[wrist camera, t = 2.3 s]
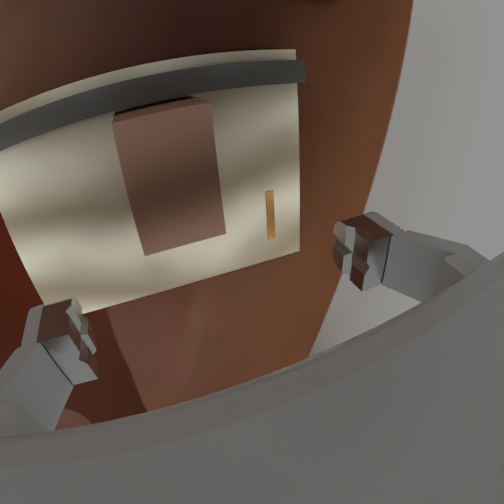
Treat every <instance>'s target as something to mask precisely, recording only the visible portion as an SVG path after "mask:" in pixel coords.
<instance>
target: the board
mask: <svg viewBox="0 0 504 504" xmlns="http://www.w3.org/2000/svg"><path fill="white" fill-rule="evenodd" d="M297 83H306V70H305V60H296V51H295V49H279V50H250V51H235V52H223V53H213V54H204V55H196V56H188V57H181V58H175V59H169V60H163V61H158V62H152V63H147V64H142V65H138V66H133V67H129V68H124V69H120V70H116V71H112V72H108V73H104V74H101V75H97V76H94V77H90V78H87V79H83V80H80V81H77V82H74V83H71V84H67V85H64V86H62V87H59V88H56V89H53V90H50V91H47V92H45V93H42V94H39V95H37V96H34V97H32V98H29V99H27V100H24V101H22V102H19V103H17V104H15V105H13V106H10V107H8V108H6V109H4V110H1V111H0V212H1V214H2V217H3V219H4V222H5V224H6V227H7V229H8V232H9V234H10V236H11V238H12V241H13V243H14V245H15V248H16V250H17V252H18V254H19V256H20V258H21V260H22V262H23V264H24V266H25V269H26V270H27V272H28V275H29V276H30V278H31V280H32V282H33V284H34V286H35V288H36V290H37V292H38V293H39V295H40V297H41V299H42V301H43V302H44V304H47V303H51V302H55V301H59V300H63V299H66V298H70V297H76V298H77V299H78V301H79V303H80V305H81V307H82V314H84V313H87V312H90V311H94V310H98V309H102V308H105V307H109V306H112V305H116V304H119V303H123V302H126V301H130V300H133V299H137V298H140V297H144V296H147V295H151V294H154V293H158V292H161V291H165V290H168V289H172V288H175V287H179V286H182V285H186V284H189V283H192V282H196V281H199V280H203V279H206V278H210V277H213V276H216V275H220V274H223V273H227V272H230V271H233V270H237V269H240V268H244V267H247V266H250V265H254V264H257V263H260V262H264V261H267V260H270V259H274V258H277V257H280V256H284V255H287V254H290V253H294V252H297V251H299V242H300V164H299V119H298V91H297ZM186 96H191V97H195V98H198V99H201V100H204V101H207V102H211V112H212V121H213V129H214V138H215V147H216V155H217V164H218V172H219V180H220V188H221V196H222V204H223V212H224V219H225V227H226V234H224V235H220V236H217V237H213V238H209V239H205V240H202V241H198V242H194V243H191V244H187V245H184V246H180V247H176V248H173V249H169V250H165V251H162V252H158V253H155V254H151V255H148V256H145V255H144V252H143V249H142V245H141V242H140V238H139V235H138V232H137V228H136V224H135V221H134V217H133V214H132V210H131V206H130V202H129V198H128V195H127V191H126V187H125V183H124V178H123V174H122V170H121V166H120V161H119V157H118V152H117V148H116V143H115V138H114V133H113V128H112V121H113V117H114V114H115V112H118V111H121V110H125V109H129V108H133V107H138V106H142V105H146V104H151V103H155V102H160V101H165V100H170V99H175V98H181V97H186Z"/></svg>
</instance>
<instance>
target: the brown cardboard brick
mask: <svg viewBox="0 0 504 504" xmlns="http://www.w3.org/2000/svg"><path fill="white" fill-rule="evenodd" d="M112 128H113V133H114V138H115V143H116V148H117V152H118V157H119V161H120V166H121V170H122V174H123V178H124V183H125V187H126V191H127V195H128V198H129V202H130V206H131V210H132V214H133V217H134V221H135V224H136V228H137V232H138V235H139V238H140V242H141V245H142V249H143V252H144V255H145V256H148V255H151V254H155V253H158V252H162V251H165V250H169V249H173V248H176V247H180V246H184V245H187V244H191V243H194V242H198V241H202V240H205V239H209V238H213V237H217V236H220V235H224V234H226V227H225V219H224V212H223V204H222V196H221V188H220V180H219V172H218V164H217V155H216V147H215V138H214V129H213V121H212V112H211V102H207V101H204V100H201V99H198V98H195V97H191V96H186V97H181V98H175V99H170V100H165V101H160V102H155V103H151V104H146V105H142V106H138V107H133V108H129V109H125V110H121V111H118V112H115V114H114V117H113V121H112Z"/></svg>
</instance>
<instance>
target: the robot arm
mask: <svg viewBox="0 0 504 504" xmlns="http://www.w3.org/2000/svg"><path fill="white" fill-rule="evenodd" d="M333 235H334V236H335V237H336V239H337V240H336V241H335V243H334V245H333V248H332V256H333V259H334V263H335V265H336V266H337V268H338V269H339V270H340V271H341V272H342V273H346V274H349V275H350V281H351V282H352V283H353V284H354V285H355V286H357V287H358V288H359V289H360V290H361V291H365V290H367V289H370V288H372V287H375V286H378V285H380V284H382V285H383V286H386V287H388V288H390V289H393V290H395V291H397V292H399V293H402V294H404V295H406V296H409V297H411V298H413V299H416V300H418V301H420V302H422V303H420V304H418V305H417V306H415V307H413V308H411V309H409V310H407V311H406V312H404V313H402V314H400V315H398V316H396V317H394V318H392V319H390V320H388V321H387V322H384V323H383V324H381V325H379V326H377V327H375V328H373V329H370V330H368V331H367V332H364V333H362V334H360V335H358V336H356V337H354V338H352V339H350V340H347V341H345V342H343V343H341V344H339V345H337V346H334V347H332V348H330V349H328V350H325V351H323V352H321V353H318V354H316V355H314V356H312V357H309V358H307V359H304V360H302V361H300V362H297V363H295V364H292V365H290V366H287V367H285V368H282V369H280V370H277V371H274V372H272V373H269V374H267V375H264V376H261V377H259V378H256V379H253V380H250V381H247V382H245V383H242V384H239V385H236V386H233V387H230V388H227V389H224V390H221V391H218V392H215V393H212V394H209V395H206V396H203V397H199V398H196V399H193V400H189V401H186V402H183V403H179V404H176V405H172V406H168V407H165V408H161V409H157V410H154V411H150V412H146V413H142V414H138V415H134V416H129V417H125V418H121V419H116V420H112V421H107V422H102V423H98V424H92V425H86V426H81V427H75V428H69V429H63V430H57V431H54V429H55V427H56V425H57V422H58V420H59V418H60V415H61V413H62V411H63V408H64V406H65V404H66V401H67V399H68V397H69V395H70V393H71V390H72V388H73V386H72V385H75V384H80V383H83V382H87V381H91V380H95V379H98V371H97V360H96V358H95V357H94V355H93V354H94V352H95V351H96V348H97V347H96V339H95V335H94V331H93V328H92V326H91V324H90V322H89V320H88V319H87V318H86V317H84V316H82V307H81V305H80V303H79V301H78V299H77V298H76V297H70V298H66V299H63V300H59V301H55V302H51V303H47V304H45V305H40V306H37V307H34V308H31V309H30V310H29V313H28V317H27V322H26V326H25V330H24V335H23V340H22V345H21V347H20V348H17V349H16V350H15V351H14V353H13V354H12V355H11V357H10V358H9V359H8V361H7V362H6V363H5V365H4V366H3V367H2V369H1V370H0V504H504V252H502V253H501V254H499V255H498V256H497V257H495V258H493V259H492V260H490V261H489V260H488V259H486V258H485V257H483V256H482V255H481V254H479V253H478V252H477V251H475V250H474V249H472V248H471V247H469V246H468V245H465V244H461V243H457V242H453V241H449V240H446V239H441V238H438V237H434V236H429V235H426V234H421V233H417V232H413V231H409V230H408V231H404V230H403V229H401V228H400V227H398V226H396V225H395V224H394V223H392V222H390V221H389V220H387V219H386V218H384V217H383V216H381V215H380V214H378V213H377V212H369V213H366V214H363V215H360V216H357V217H354V218H350V219H347V220H343V221H340V222H337V223H336V224H335V226H334V233H333Z"/></svg>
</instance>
